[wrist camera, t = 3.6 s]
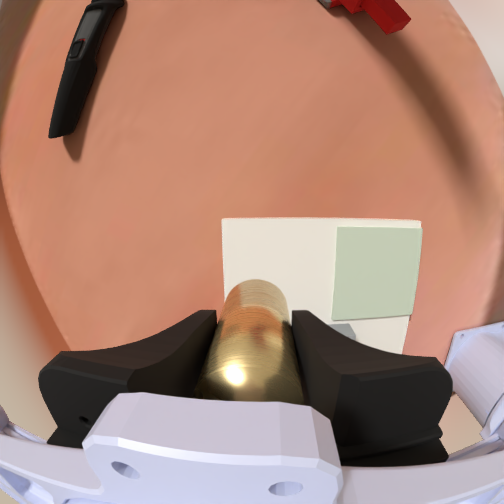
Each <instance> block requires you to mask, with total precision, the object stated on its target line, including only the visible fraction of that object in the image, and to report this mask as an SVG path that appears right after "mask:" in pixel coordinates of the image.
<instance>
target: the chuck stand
mask: <svg viewBox="0 0 504 504" xmlns="http://www.w3.org/2000/svg"><path fill="white" fill-rule="evenodd" d="M422 231H423V229H422V228H421V221H417V220H402V219H369V218H223V219H222V246H223V271H224V293H225V301H226V298H227V296H228V294H229V292H230V291H231V290H232V289H233V288H234V287H235V286H236V285H238V284H239V283H241V282H243V281H246V280H251V279H260V280H265V281H268V282H270V283H272V284H274V285H276V286H277V287H278V288H279V289H280V290H281V291H282V293H283V294H284V296H285V298H286V301H287V306H288V311H289V317H290V323H291V321H292V310H308V311H310V312H311V313H312V314H314V315H315V316H316V317H318V318H319V319H320V320H322V321H323V322H324V323H326V324H327V325H329V326H330V327H332V328H333V329H335V330H336V331H338V332H340V333H341V334H343V335H345V336H347V337H349V338H351V339H353V340H355V341H357V342H360V343H362V344H364V345H367V346H370V347H373V348H376V349H380V350H383V351H387V352H392V353H397V354H402V350H403V346H404V341H405V337H406V332H407V327H408V322H409V317H410V314H412V311H413V305H414V299H415V293H416V287H417V280H418V272H419V264H420V255H421V244H422Z"/></svg>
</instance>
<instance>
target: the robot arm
mask: <svg viewBox="0 0 504 504" xmlns="http://www.w3.org/2000/svg"><path fill="white" fill-rule="evenodd" d="M216 327H217V315H216V310H200V311H197V312H196V313H194V314H192V315H190V316H189V317H187V318H185V319H184V320H182V321H180V322H179V323H177V324H175V325H173V326H171V327H169V328H167V329H166V330H164V331H162V332H160V333H158V334H155V335H153V336H151V337H148V338H145V339H143V340H140V341H137V342H133V343H129V344H126V345H122V346H118V347H113V348H107V349H100V350H91V351H61V352H60V353H59V354H58V355H57V356H56V357H54V358H53V359H52V360H51V361H50V362H49V363H48V364H47V365H46V366H45V367H44V368H43V369H42V370H41V371H40V373H39V377H38V381H39V388H40V391H41V394H42V397H43V399H44V401H45V403H46V405H47V407H48V409H49V411H50V413H51V415H52V417H53V419H54V420H55V422H56V424H57V426H58V428H57V429H56V430H55V432H54V433H53V434H52V436H51V437H50V438H49V439H48V441H47V440H44V439H42V438H40V437H38V436H36V435H34V434H32V433H30V432H28V431H26V430H25V429H23V428H21V427H19V426H17V425H15V424H14V423H12V422H10V421H9V418H8V417H7V414H6V413H5V411H4V409H3V408H2V407H1V406H0V489H2V490H3V491H4V492H5V493H7V494H8V495H9V496H11V497H12V498H13V499H15V500H16V501H17V502H19V503H20V504H504V321H503V322H499V323H495V324H491V325H486V326H482V327H477V328H472V329H467V330H462V331H458V332H456V333H455V334H454V336H453V339H452V343H451V346H450V350H449V353H448V356H447V359H446V362H445V365H444V366H443V365H442V364H441V363H440V362H439V361H438V359H437V358H436V357H422V356H409V355H403V354H397V353H392V352H387V351H383V350H380V349H376V348H373V347H370V346H367V345H364V344H362V343H360V342H357V341H355V340H353V339H351V338H349V337H347V336H345V335H343V334H341V333H340V332H338V331H336V330H335V329H333V328H332V327H330V326H329V325H327V324H326V323H324V322H323V321H322V320H320V319H319V318H318V317H316V316H315V315H314V314H312V313H311V312H310V311H308V310H292V321H291V328H292V334H293V339H294V345H295V351H296V357H297V363H298V369H299V375H300V381H301V387H302V393H303V399H304V405H305V406H303V405H296V404H290V403H283V402H241V401H219V400H204V399H192V397H193V394H194V391H195V388H196V385H197V382H198V379H199V376H200V373H201V370H202V367H203V364H204V361H205V359H206V356H207V353H208V350H209V347H210V344H211V341H212V338H213V335H214V332H215V329H216ZM460 336H461V337H460ZM453 391H455V392H456V394H457V395H458V396H459V397H460V399H461V400H462V401H463V403H464V404H465V405H466V406H467V408H468V409H469V410H470V412H471V413H472V414H473V415H474V417H475V418H476V419H477V421H478V422H479V423H480V425H481V426H482V427H483V430H482V431H481V432H480V435H481V437H482V438H483V439H484V440H482V441H480V442H478V443H475V444H473V445H471V446H469V447H466V448H464V449H462V450H459V451H457V452H454V453H452V454H450V455H448V453H447V452H446V450H445V448H444V446H443V445H442V443H441V441H440V440H439V438H441V437H442V435H443V433H442V430H441V429H440V427H439V425H438V423H439V421H440V420H441V418H442V415H443V413H444V411H445V409H446V407H447V405H448V402H449V400H450V397H451V394H452V392H453Z"/></svg>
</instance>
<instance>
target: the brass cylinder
mask: <svg viewBox="0 0 504 504" xmlns="http://www.w3.org/2000/svg"><path fill="white" fill-rule="evenodd" d="M192 399H204V400H219V401H241V402H283V403H290V404H296V405H303V406H305V405H304V399H303V393H302V387H301V381H300V375H299V369H298V363H297V357H296V351H295V345H294V339H293V334H292V328H291V323H290V317H289V311H288V306H287V301H286V298H285V296H284V294H283V293H282V291H281V290H280V289H279V288H278V287H277V286H276V285H274V284H272V283H270V282H268V281H265V280H260V279H251V280H246V281H243V282H241V283H239V284H238V285H236V286H235V287H234V288H233V289H232V290H231V291H230V292H229V294H228V296H227V298H226V301H225V304H224V306H223V309H222V312H221V315H220V318H219V321H218V324H217V327H216V329H215V332H214V335H213V338H212V341H211V344H210V347H209V350H208V353H207V356H206V359H205V361H204V364H203V367H202V370H201V373H200V376H199V379H198V382H197V385H196V388H195V391H194V394H193V397H192Z"/></svg>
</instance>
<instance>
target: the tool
mask: <svg viewBox="0 0 504 504" xmlns="http://www.w3.org/2000/svg"><path fill="white" fill-rule="evenodd" d="M319 1H320V2H321V3H322V4H323V5H324V6H325V7H326V8H328V9H329V8H332V7H335V6H338V5H342V4H343V5H344V6H345V8H346V9H347V10H348V11H349V12H350V13H351V14H353V13H356V12H359V11H363V10H365V11H366V12H367V13H368V14H369V15H370V16H371V17H372V19H373V20H374V21H375V22H376V23H377V24H378V25H379V26H380V28H381V29H382V30H383V31H384V32H385V34H386V35H387V34H390V33H393V32H396V31H399V30H402V29H403V28H404V27H405V26H406V25H407V24H408V23H409V22H410V20H411V18H410V17H409V16H408V15H407V13H406V12H405V11H404V10H403V9H402V8H401V7H400V6H399V5H398V3H397V2H396V1H395V0H319Z"/></svg>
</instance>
